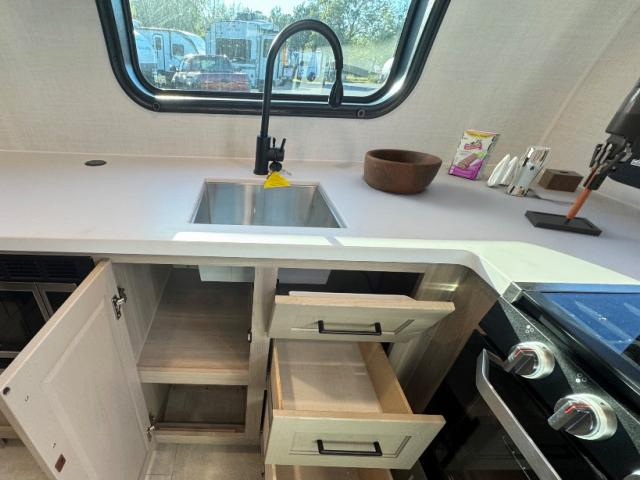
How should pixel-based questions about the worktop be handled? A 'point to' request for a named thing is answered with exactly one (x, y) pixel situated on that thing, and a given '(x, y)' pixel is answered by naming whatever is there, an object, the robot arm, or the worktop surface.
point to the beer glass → (528, 169)
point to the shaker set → (503, 171)
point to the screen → (561, 220)
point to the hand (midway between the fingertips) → (589, 188)
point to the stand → (560, 180)
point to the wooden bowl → (400, 170)
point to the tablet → (560, 227)
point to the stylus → (579, 202)
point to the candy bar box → (473, 154)
